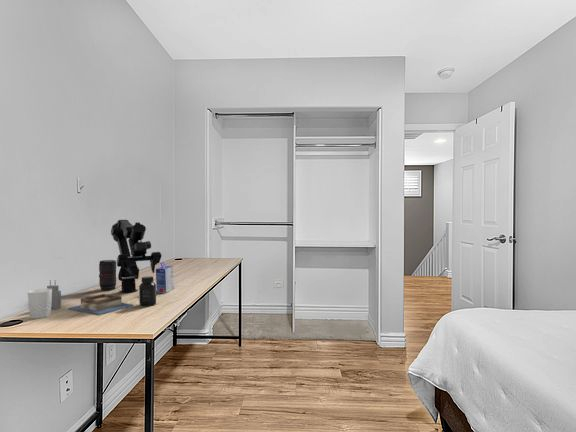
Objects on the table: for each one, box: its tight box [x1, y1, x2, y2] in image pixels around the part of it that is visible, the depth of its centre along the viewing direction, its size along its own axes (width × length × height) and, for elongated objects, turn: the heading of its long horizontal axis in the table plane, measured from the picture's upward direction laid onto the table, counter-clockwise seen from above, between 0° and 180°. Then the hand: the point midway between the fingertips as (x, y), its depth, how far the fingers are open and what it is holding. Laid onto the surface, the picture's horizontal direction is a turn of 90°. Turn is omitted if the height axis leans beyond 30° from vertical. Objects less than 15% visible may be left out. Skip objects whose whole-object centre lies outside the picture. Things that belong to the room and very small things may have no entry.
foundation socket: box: [80, 293, 123, 311], centre depth 157 cm, size 11×11×4 cm
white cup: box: [27, 287, 52, 319], centre depth 144 cm, size 8×8×10 cm
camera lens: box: [98, 259, 117, 292], centre depth 194 cm, size 8×8×15 cm
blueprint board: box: [67, 302, 135, 316], centre depth 157 cm, size 20×16×1 cm
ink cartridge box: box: [155, 261, 175, 294], centre depth 189 cm, size 10×6×14 cm, turn 174°
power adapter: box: [46, 280, 62, 311], centre depth 156 cm, size 3×5×12 cm, turn 100°
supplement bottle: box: [138, 275, 157, 307], centre depth 161 cm, size 7×7×12 cm
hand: (143, 273), depth 167 cm, fingers open, 9 cm apart
